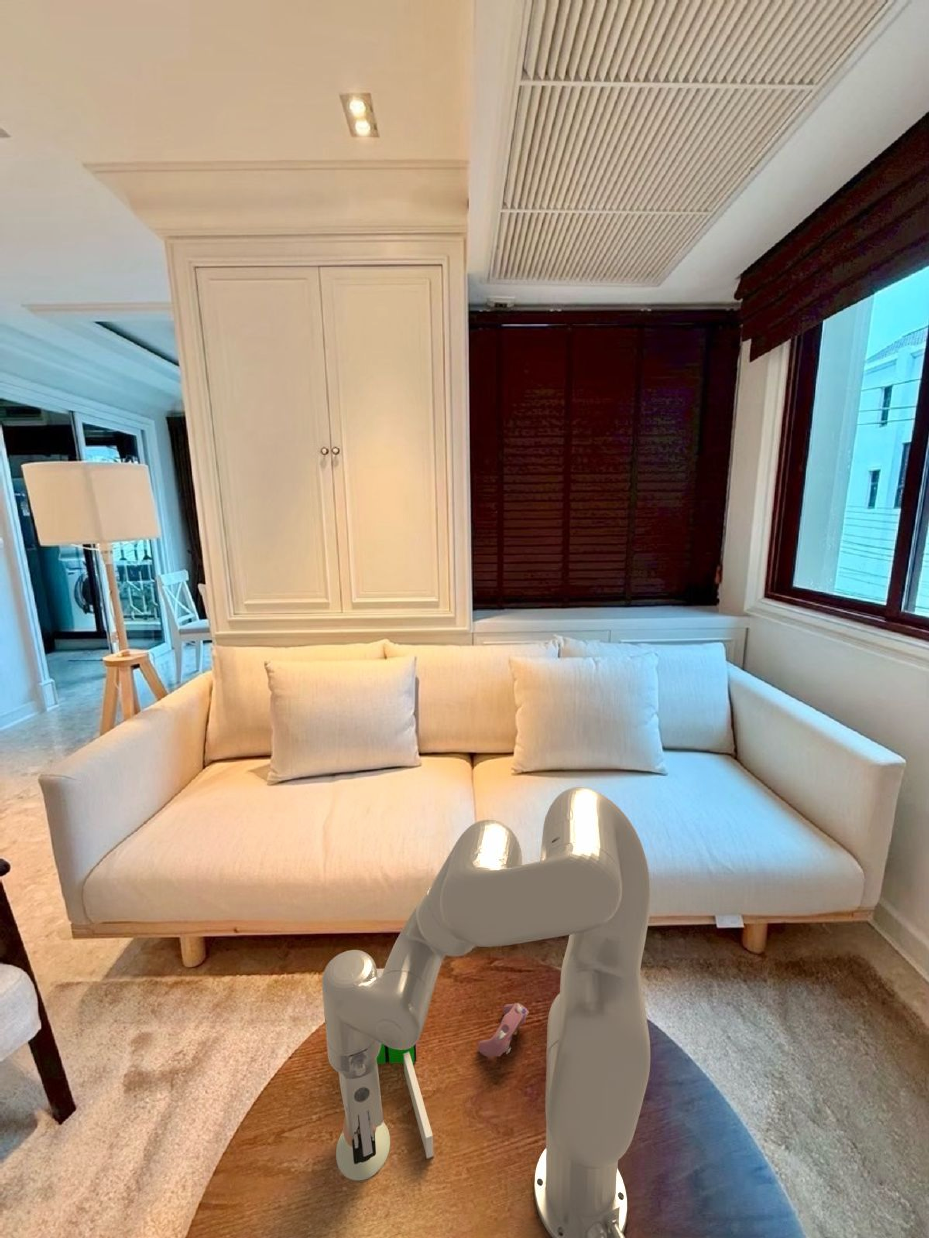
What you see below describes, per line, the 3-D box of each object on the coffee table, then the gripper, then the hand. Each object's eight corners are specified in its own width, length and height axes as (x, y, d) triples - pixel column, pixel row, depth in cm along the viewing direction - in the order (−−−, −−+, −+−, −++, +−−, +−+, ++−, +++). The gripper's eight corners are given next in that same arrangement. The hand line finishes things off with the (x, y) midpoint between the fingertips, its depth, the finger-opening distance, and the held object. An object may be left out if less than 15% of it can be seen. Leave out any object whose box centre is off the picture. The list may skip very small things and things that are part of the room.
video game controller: (493, 1072, 90) (508, 1054, 87) (473, 1049, 92) (488, 1030, 89) (522, 1026, 98) (537, 1008, 95) (503, 1006, 100) (517, 987, 97)
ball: (381, 1148, 77) (379, 1122, 76) (346, 1164, 75) (344, 1137, 74) (374, 1112, 81) (372, 1087, 80) (341, 1126, 80) (339, 1101, 79)
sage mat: (395, 1165, 76) (395, 1163, 76) (340, 1191, 74) (340, 1189, 74) (383, 1108, 84) (383, 1106, 84) (332, 1129, 81) (332, 1128, 81)
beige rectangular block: (433, 1155, 77) (432, 1134, 77) (427, 1158, 77) (426, 1137, 76) (410, 1069, 89) (409, 1051, 88) (404, 1072, 89) (403, 1053, 88)
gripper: (394, 1088, 68) (399, 1192, 72) (368, 980, 83) (374, 1070, 87) (335, 1112, 65) (344, 1219, 69) (320, 996, 81) (328, 1088, 85)
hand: (361, 1135), depth 78 cm, fingers closed on ball, 4 cm apart
